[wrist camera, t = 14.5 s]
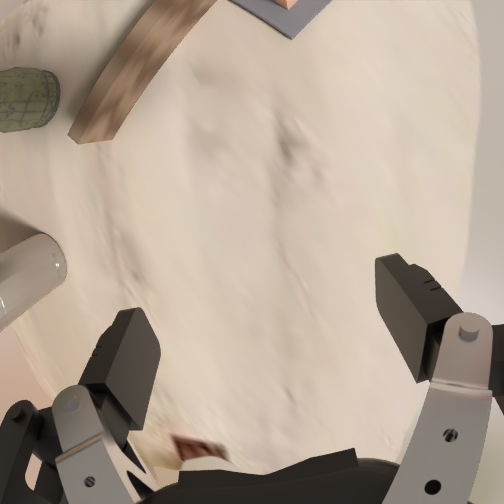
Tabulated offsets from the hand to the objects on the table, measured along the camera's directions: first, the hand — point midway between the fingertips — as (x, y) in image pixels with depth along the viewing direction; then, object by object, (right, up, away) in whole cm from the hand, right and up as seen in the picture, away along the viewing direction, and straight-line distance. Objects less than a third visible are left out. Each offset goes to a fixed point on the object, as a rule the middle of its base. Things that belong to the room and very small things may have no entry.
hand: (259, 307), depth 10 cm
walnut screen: (-11, +24, +21) cm, 34 cm away
